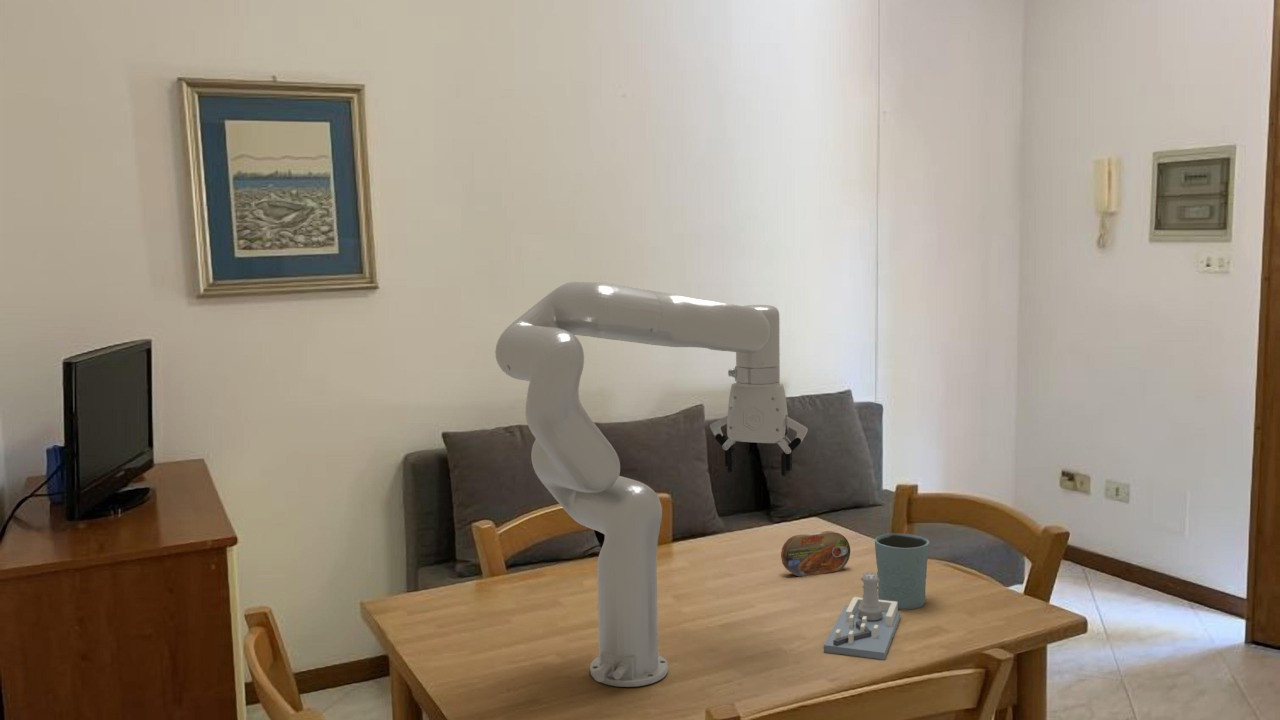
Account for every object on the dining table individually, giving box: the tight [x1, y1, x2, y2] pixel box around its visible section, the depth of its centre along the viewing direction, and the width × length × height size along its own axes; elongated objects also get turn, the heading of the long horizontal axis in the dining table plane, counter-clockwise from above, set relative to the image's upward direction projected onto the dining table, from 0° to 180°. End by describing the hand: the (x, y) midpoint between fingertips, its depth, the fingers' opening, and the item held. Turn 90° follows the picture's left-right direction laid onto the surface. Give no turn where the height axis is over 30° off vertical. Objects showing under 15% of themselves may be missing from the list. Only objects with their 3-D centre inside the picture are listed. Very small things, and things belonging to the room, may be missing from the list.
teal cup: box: [874, 533, 930, 610], centre depth 196 cm, size 10×10×12 cm
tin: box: [780, 530, 851, 578], centre depth 214 cm, size 15×3×8 cm, turn 108°
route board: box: [823, 596, 901, 661], centre depth 180 cm, size 20×10×3 cm, turn 159°
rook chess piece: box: [858, 571, 883, 621], centre depth 185 cm, size 4×4×8 cm
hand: (758, 472), depth 181 cm, fingers open, 9 cm apart
